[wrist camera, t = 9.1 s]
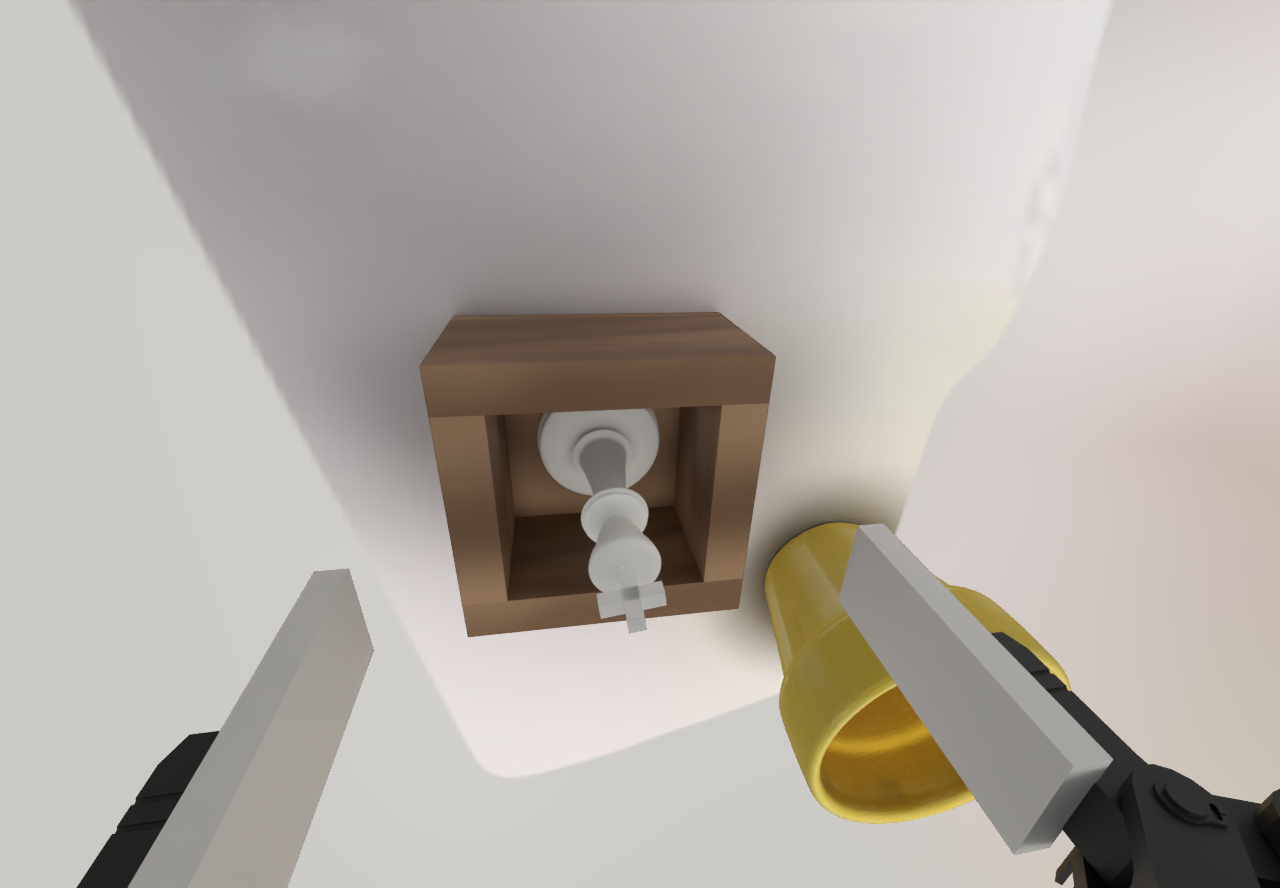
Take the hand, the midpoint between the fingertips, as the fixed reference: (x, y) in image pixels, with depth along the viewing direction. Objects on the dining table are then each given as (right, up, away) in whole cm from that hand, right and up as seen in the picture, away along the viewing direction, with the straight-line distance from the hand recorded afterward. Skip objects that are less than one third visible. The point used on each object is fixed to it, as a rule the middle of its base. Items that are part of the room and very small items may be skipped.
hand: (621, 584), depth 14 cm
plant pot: (+10, -3, +14) cm, 18 cm away
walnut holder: (-2, +4, +8) cm, 9 cm away
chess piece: (-1, +4, +8) cm, 9 cm away
